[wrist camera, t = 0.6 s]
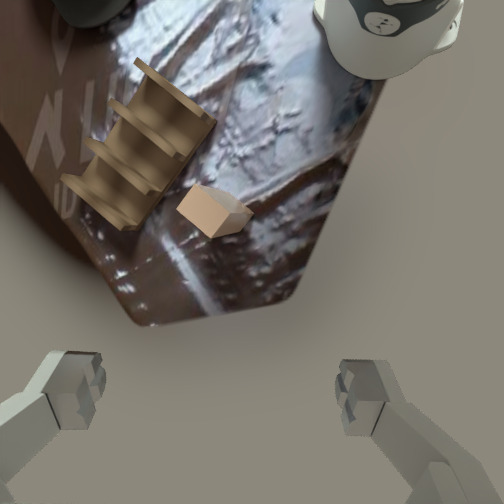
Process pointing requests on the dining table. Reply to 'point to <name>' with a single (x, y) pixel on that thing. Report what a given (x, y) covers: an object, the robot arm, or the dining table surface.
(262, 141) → the dining table surface
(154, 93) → the drying rack
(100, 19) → the casserole
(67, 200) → the dining table surface
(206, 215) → the beige rectangular block
